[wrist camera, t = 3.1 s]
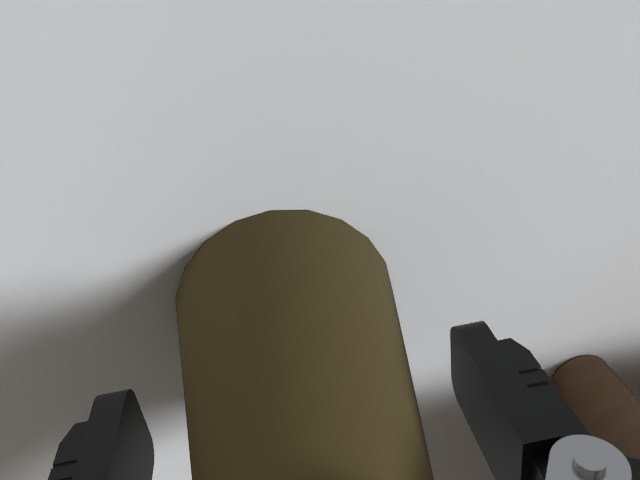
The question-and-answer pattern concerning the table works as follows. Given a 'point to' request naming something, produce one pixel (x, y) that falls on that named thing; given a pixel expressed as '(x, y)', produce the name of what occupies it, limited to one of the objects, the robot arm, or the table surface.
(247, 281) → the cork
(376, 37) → the table surface
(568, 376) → the stool
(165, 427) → the table surface
